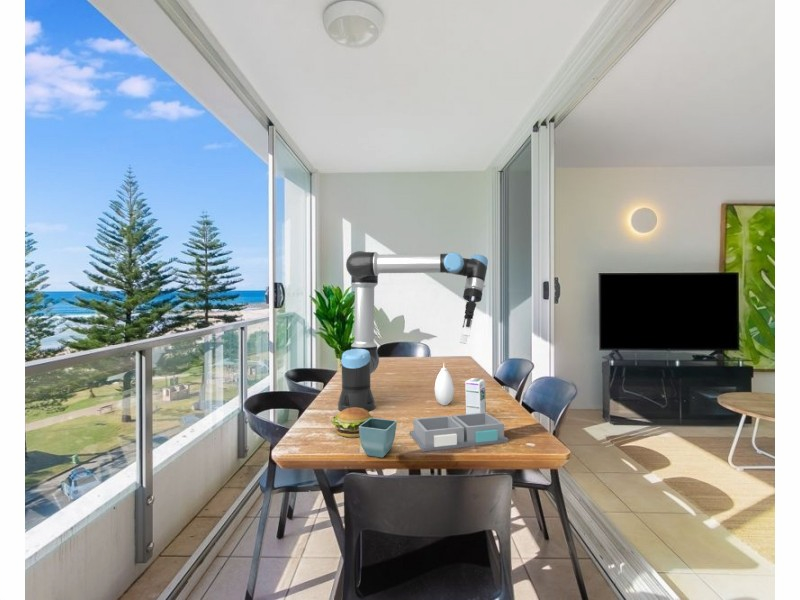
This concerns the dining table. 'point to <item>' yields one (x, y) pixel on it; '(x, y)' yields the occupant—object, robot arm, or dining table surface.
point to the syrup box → (475, 396)
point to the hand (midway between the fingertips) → (464, 339)
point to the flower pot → (377, 436)
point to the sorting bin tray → (457, 431)
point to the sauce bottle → (444, 387)
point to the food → (350, 421)
